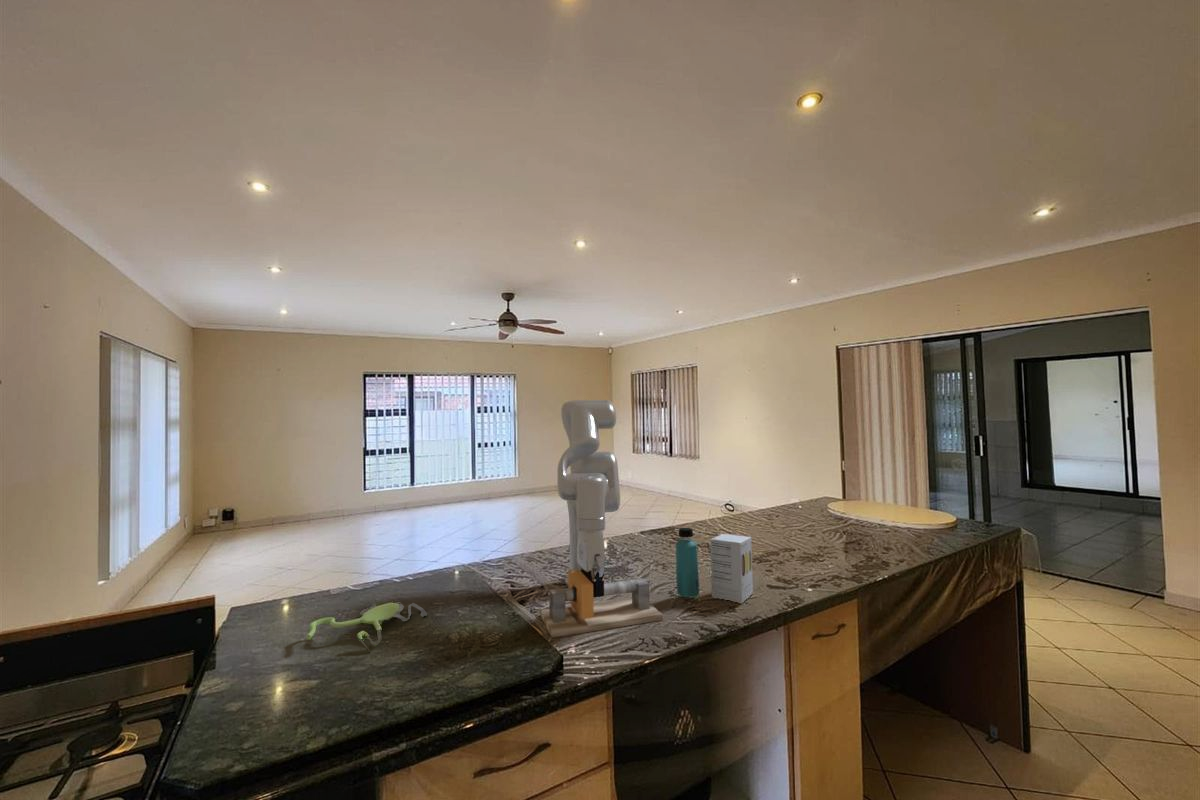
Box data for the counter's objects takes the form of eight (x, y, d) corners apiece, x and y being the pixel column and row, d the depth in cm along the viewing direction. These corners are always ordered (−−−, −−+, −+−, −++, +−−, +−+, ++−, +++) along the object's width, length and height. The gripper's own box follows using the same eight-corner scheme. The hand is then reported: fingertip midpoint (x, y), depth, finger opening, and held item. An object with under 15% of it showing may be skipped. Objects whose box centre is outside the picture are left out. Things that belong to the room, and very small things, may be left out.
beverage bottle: (699, 603, 129) (697, 531, 130) (675, 602, 130) (674, 530, 131) (699, 595, 135) (697, 526, 136) (676, 593, 136) (675, 525, 138)
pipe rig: (540, 615, 122) (540, 582, 123) (640, 601, 131) (640, 570, 132) (551, 637, 109) (551, 600, 109) (662, 620, 118) (661, 585, 118)
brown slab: (568, 600, 124) (568, 570, 125) (579, 599, 125) (578, 569, 126) (581, 619, 112) (581, 585, 112) (593, 617, 113) (593, 584, 113)
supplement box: (742, 605, 127) (740, 543, 128) (711, 598, 133) (709, 538, 134) (753, 594, 135) (751, 536, 136) (723, 588, 140) (722, 532, 141)
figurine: (293, 652, 104) (293, 627, 105) (378, 607, 130) (378, 587, 130) (360, 662, 100) (360, 635, 100) (435, 613, 125) (435, 592, 126)
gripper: (568, 519, 128) (569, 581, 127) (587, 531, 111) (588, 604, 110) (594, 516, 130) (595, 578, 129) (615, 529, 114) (617, 599, 113)
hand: (591, 590), depth 120 cm, fingers open, 9 cm apart
